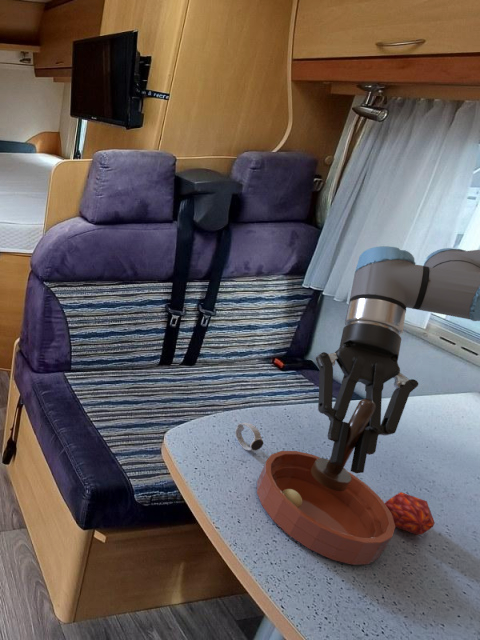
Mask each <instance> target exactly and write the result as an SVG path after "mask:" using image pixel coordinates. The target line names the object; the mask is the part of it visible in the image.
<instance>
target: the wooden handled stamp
mask: <svg viewBox="0 0 480 640" xmlns="http://www.w3.org/2000/svg"><path fill="white" fill-rule="evenodd" d="M375 409H376V405H375V403H374V402H373V401H371V400H369V399H366V398H362V399H360V400H359V402H358V404H357V405H356V408H354V411H353V412H352V415H351V417H350V419H349V421H348V423H349V424H350V425H349V430H348V435H347V440H346V445H345V450H344V456H343V461H342V464H340V465H334V464H331V463H330V460H331V456H330V457H329V459H328V458H324V457H320V458H319V459H316V460H315V462H314V464H313V466H312V468H311V474H312V476H313V477H314V478H315V479H316V480H317V481H318V482H319V483H320V484H322V485H323V486H325V487H327V488H329V489H331V490H334V491H345V490H346V489H347V487H348V485H349V483H350V481H351V475H350V474H349V472H350V471H349V472H348V470H347V469H346V468H345V466H346V464H347V462H348V460H349V459H350V457H351V455H352V453H353V452H354V449H355V446H356V444H357V442H358V440H359V438H360V436H361V435H362V433H363V431H364V429H365V427H366V425H367V424H368V422H369V420H370V418H371V416H372V414H373V412H374V411H375Z"/></svg>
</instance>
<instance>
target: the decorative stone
mask: <svg viewBox="0 0 480 640" xmlns="http://www.w3.org/2000/svg"><path fill="white" fill-rule="evenodd" d="M384 503H385V505H386V506H387V507H388V509H389V510H390V512H391V514H392V517H393V520H394V523H395V528H398V529H400V530H402V531H405V532H408V533H410V534H412V535H415V536H419V535H423V534H424V533H426V532H428V531H429V530H430V529H432V528H434V526H435V524H436V523H435V519H434V517H433V514H432V512H431V509H430V506H429V504H428V501H427V500H425V499H422V498H418V497H417V496H414V495H411V494H407V493H405V492H401V491H400V492H398V493H396V494H394V496H392V497H390V498H389V499H388V500H386V501H385V502H384Z"/></svg>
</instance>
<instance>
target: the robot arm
mask: <svg viewBox="0 0 480 640" xmlns="http://www.w3.org/2000/svg"><path fill="white" fill-rule="evenodd" d="M407 309H412V310H418V311H422V312H429V313H434V314H438V315H445V316H448V317H449V316H450V317H455V318H461V319H466V320H470V321H472V322H480V249H474V250H473V249H472V250H464V249H462V248H456V247H445V248H439V249H437V250H434V251H433V252H431V253H430V254H428V255H427V256H426V258H425V259H424V261H423V263H422V265H420V264H416V262H415V257H414V255H413V254H412V253H411V252H409V251H408V250H406V249H400V248H399V247H397V246H389V245H388V246H387V245H386V246H385V245H382V246H381V245H380V246H373V247H370V248H368V249H365V250H363V252H361V254H360V255H359V257H358V260H357V264H356V267H355V270H354V274H353V281H352V285H351V290H350V296H349V301H348V306H347V311H346V315H345V319H344V325H345V326H344V327H343V329H342V334H341V338H340V343H339V347H338V349H337V350H335V351H334V352H333V353H327V352H326V351H322V352H321V353H320V354H318V355H317V356H316V357H315V361H316V364H317V366H318V368H319V373H318V375H319V376H318V405H317V410H318V412H319V413H320V414H323V415H325V416H326V417H328V421H329V426H328V431H327V440H329V441H331V442H333V445H332V450H331V455H330V457H331V460H330V463H331V464H334V465H340V464H342V461H343V456H344V450H345V445H346V440H347V435H348V430H349V425H350V424H349V422H346V421H344V420H345V418H346V415H347V413H348V409H349V408H350V407H349V406H350V403H351V400H352V397H353V394H354V392H355V389H356V386H357V383H361V384H363V385H364V391H365V399H369V400H371V401H373V402H374V403H375V405H376V409H375V411H374V412H373V414H372V416H371V418H370V420H369V422H368V424H367V425H366V427H365V429H364V431H363V433H362V435H361V436H360V438H359V440H358V442H357V444H356V446H355V448H354V449H353V455H352V462H351V465H350V472H351V473H353V474H354V473H355V474H362V473H365V472H364V471H365V466H366V460H367V455H374V454H375V453H376V452H377V451H376V450H377V444H378V439H379V436H385V437H386V436H391V435H393V434H395V433H396V432H397V429H398V426H399V424H400V421H401V418H402V416H403V413H404V410H405V407H406V404H407V402H408V400H409V396H410V394H411V393H412V392H413V390H415V389H416V388H417V387H419V382H418V381H417V380H416V379H413V378H411V379H410V378H408V377H407V376H406V375H404V374H403V373H402V372H401V368H400V365H399V363H398V360H399V356H400V349H401V344H402V335H403V333H404V326H405V318H406V314H407ZM336 363H337V364H338V366H339V368H340V370H341V372H342V373H343V377H342V379H341V385H340V388H339V391H338V394H337V396H336V399H335V401H334V405H333V390H334V389H333V388H334V387H333V386H334V366H335V365H336ZM392 379H393V380H394V383H393V386H394V388H395V389H394V390H393V392H392V394H391V396H390V400H389V402H388V405H387V408H386V409H385V413H384V416H383V417H382V403H383V402H382V401H383V399H382V398H383V397H382V396H383V391H384V384H385V383H387V382H388V381H390V380H392Z"/></svg>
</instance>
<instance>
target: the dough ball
mask: <svg viewBox="0 0 480 640" xmlns="http://www.w3.org/2000/svg"><path fill="white" fill-rule="evenodd" d="M282 493H283V494H284V496H285V497H286V498H287V499H288V500H289V501H290V502H291V503H293V504H294V505H295V506H296V507H297V508H299V507H300V506H301V505H302V498H301V496H300V494H299V493H298V492H296V491H295V490H292V489H285V490H283V491H282Z"/></svg>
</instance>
